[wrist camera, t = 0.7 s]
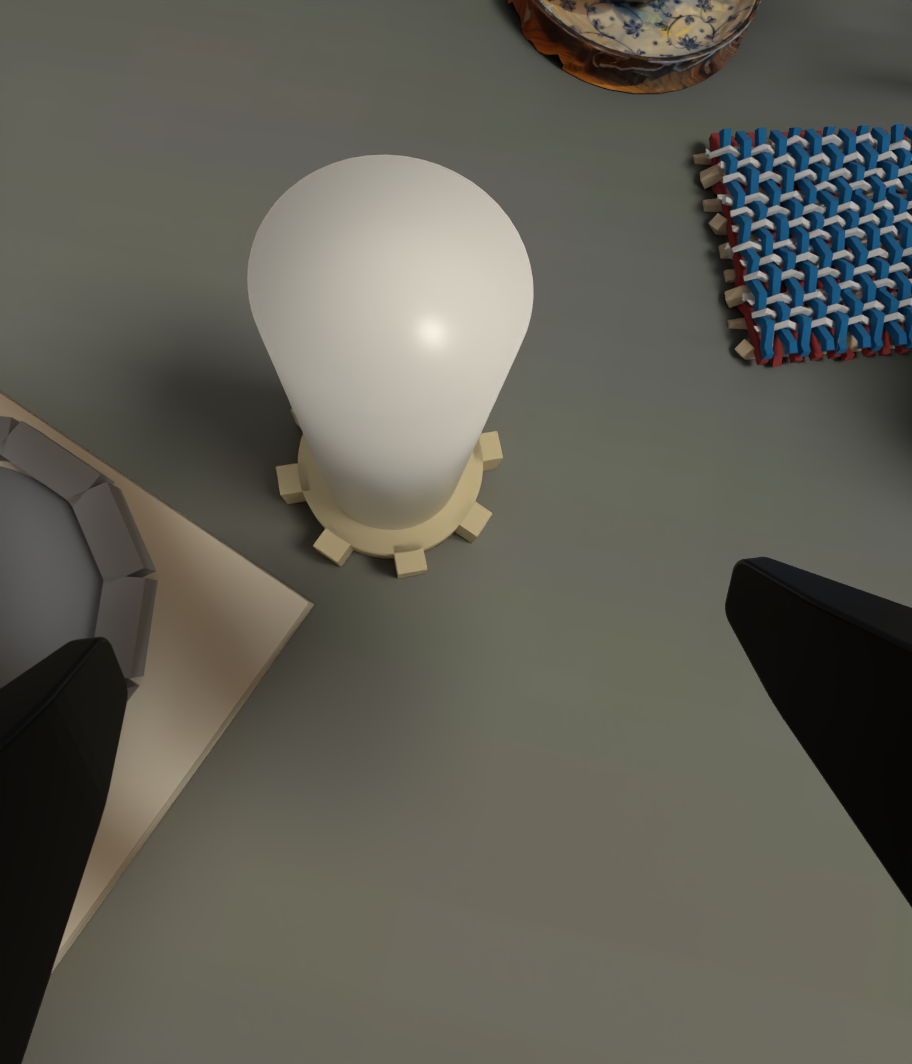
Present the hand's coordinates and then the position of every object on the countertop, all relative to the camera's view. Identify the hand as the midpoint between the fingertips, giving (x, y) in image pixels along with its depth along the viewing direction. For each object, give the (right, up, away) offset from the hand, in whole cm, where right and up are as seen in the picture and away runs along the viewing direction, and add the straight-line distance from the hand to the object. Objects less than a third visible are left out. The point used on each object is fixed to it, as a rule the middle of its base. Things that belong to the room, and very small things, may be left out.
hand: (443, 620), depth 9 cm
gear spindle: (-2, +3, +14) cm, 14 cm away
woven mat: (+16, +13, +18) cm, 28 cm away
